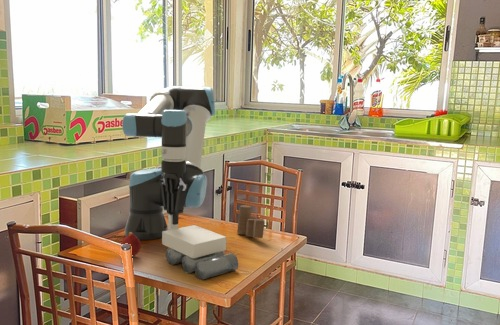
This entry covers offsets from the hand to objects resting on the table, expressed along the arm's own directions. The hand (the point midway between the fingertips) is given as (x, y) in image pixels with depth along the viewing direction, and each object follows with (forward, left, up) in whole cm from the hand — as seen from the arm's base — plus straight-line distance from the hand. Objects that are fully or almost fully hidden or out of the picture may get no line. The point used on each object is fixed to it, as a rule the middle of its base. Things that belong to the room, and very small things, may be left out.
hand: (173, 233), depth 152 cm
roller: (+24, 0, -4) cm, 25 cm away
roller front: (+15, 0, -7) cm, 16 cm away
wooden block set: (0, +33, -7) cm, 34 cm away
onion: (-5, -12, -7) cm, 15 cm away
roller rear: (+7, 0, -7) cm, 9 cm away
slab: (+11, 0, -2) cm, 11 cm away
